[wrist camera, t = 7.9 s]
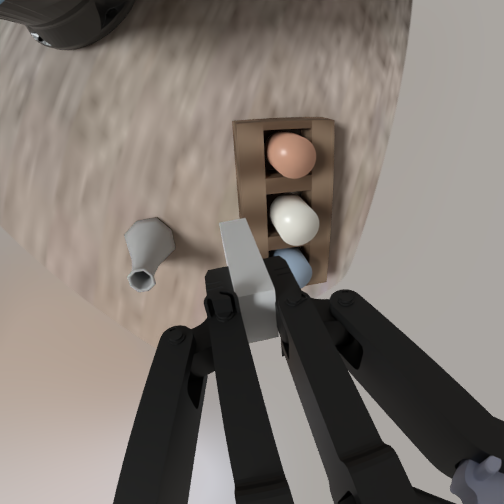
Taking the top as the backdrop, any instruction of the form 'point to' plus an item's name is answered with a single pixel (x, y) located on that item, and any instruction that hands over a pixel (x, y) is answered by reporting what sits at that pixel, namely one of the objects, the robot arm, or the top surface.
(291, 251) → the blue rounded lump
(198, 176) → the top surface
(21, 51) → the top surface
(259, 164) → the wooden egg tray
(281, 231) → the off-white round ball
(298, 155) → the peach orange ball
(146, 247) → the flask
